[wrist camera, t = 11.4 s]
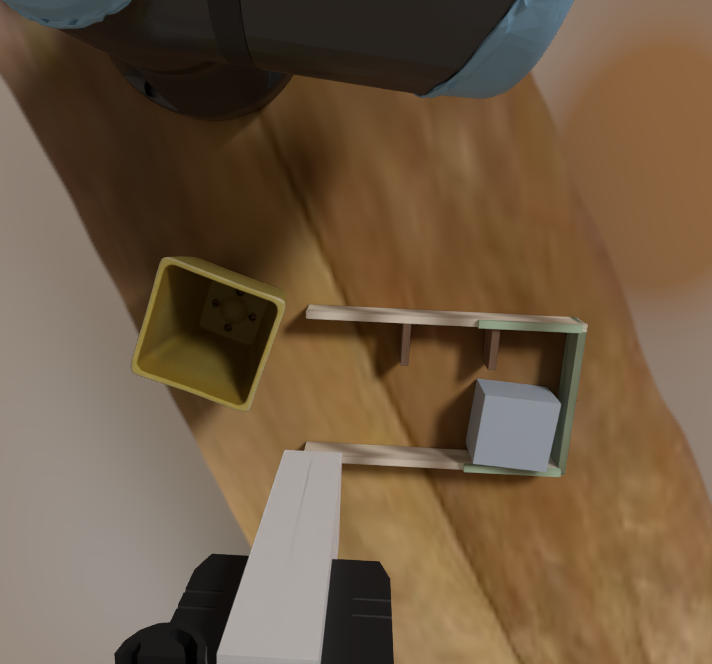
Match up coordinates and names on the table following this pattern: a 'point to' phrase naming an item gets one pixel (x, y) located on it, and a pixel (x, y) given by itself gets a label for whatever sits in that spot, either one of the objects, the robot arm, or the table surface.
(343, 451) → the wooden wall shelf
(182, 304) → the flower pot
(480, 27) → the robot arm
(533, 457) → the slate block
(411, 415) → the table surface
